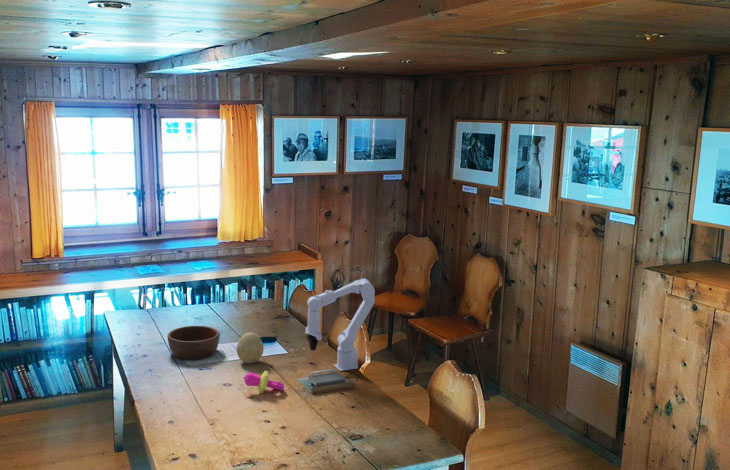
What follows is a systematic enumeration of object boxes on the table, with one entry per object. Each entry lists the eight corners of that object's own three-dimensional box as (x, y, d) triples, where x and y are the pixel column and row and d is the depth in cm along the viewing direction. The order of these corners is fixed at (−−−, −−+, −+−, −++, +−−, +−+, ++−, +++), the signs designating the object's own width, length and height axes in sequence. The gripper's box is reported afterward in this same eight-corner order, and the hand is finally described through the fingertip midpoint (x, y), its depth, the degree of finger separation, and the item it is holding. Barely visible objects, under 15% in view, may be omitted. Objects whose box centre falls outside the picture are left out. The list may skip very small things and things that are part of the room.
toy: (282, 399, 290) (288, 375, 292) (241, 389, 285) (248, 365, 288) (278, 399, 299) (284, 375, 302) (238, 389, 295) (245, 365, 298)
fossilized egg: (234, 359, 330) (234, 329, 327) (259, 356, 335) (259, 327, 332) (239, 368, 319) (240, 338, 316) (266, 365, 324) (266, 335, 321)
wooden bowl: (157, 357, 330) (156, 336, 328) (188, 341, 353) (188, 322, 351) (200, 366, 321) (199, 345, 319) (229, 349, 344) (229, 330, 342)
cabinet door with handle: (336, 377, 311) (337, 368, 310) (345, 384, 303) (345, 375, 302) (308, 381, 305) (308, 372, 304) (315, 389, 297) (316, 379, 296)
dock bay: (336, 373, 319) (336, 367, 318) (353, 388, 302) (353, 382, 302) (296, 379, 310) (296, 373, 309) (311, 395, 294) (311, 388, 293)
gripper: (299, 318, 322) (299, 345, 325) (311, 327, 310) (311, 356, 312) (313, 317, 326) (312, 344, 328) (326, 326, 313) (325, 354, 315)
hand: (313, 349), depth 320 cm, fingers closed
